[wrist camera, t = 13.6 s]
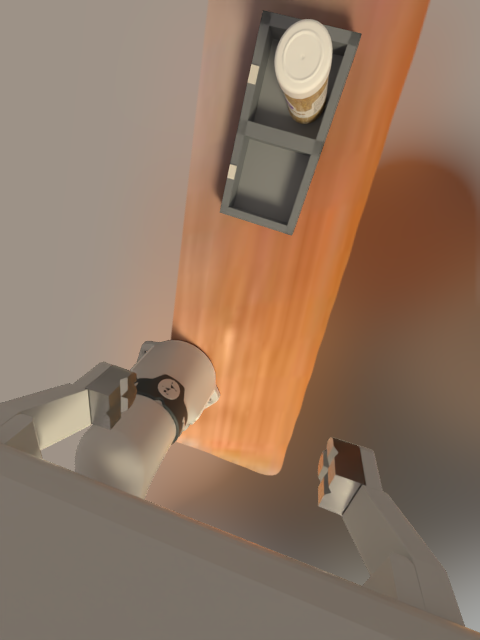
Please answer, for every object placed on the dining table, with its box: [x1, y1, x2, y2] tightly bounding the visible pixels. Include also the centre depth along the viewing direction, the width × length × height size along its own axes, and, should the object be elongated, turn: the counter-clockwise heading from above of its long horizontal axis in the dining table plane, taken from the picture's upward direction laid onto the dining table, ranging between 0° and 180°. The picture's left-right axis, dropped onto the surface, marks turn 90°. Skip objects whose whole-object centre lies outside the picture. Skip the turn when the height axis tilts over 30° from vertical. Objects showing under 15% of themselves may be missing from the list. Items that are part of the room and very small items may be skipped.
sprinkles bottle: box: [274, 19, 332, 124], centre depth 27 cm, size 5×5×14 cm
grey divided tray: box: [220, 10, 361, 235], centre depth 35 cm, size 20×10×4 cm, turn 165°
